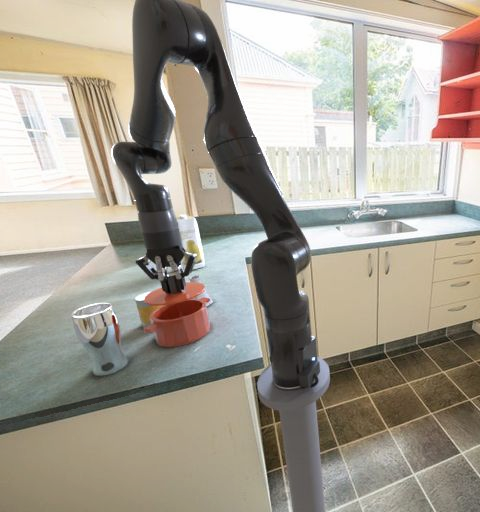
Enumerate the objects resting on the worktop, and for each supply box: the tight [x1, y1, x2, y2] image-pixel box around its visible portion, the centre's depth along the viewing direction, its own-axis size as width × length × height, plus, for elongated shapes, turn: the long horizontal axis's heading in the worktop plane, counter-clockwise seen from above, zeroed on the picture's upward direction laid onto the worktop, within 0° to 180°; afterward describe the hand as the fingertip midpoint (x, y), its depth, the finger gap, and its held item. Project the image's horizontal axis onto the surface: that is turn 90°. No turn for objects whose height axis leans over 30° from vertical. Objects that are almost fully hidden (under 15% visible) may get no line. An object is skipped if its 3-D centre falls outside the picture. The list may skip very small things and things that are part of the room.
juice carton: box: [176, 214, 205, 271], centre depth 129 cm, size 9×8×24 cm
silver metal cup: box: [70, 302, 129, 377], centre depth 66 cm, size 7×7×15 cm
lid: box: [143, 272, 206, 306], centre depth 78 cm, size 14×14×6 cm
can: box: [134, 291, 163, 329], centre depth 86 cm, size 6×6×9 cm
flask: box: [187, 274, 214, 307], centre depth 97 cm, size 7×7×10 cm
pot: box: [142, 297, 211, 348], centre depth 81 cm, size 13×18×8 cm
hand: (175, 291), depth 78 cm, fingers closed on lid, 2 cm apart
